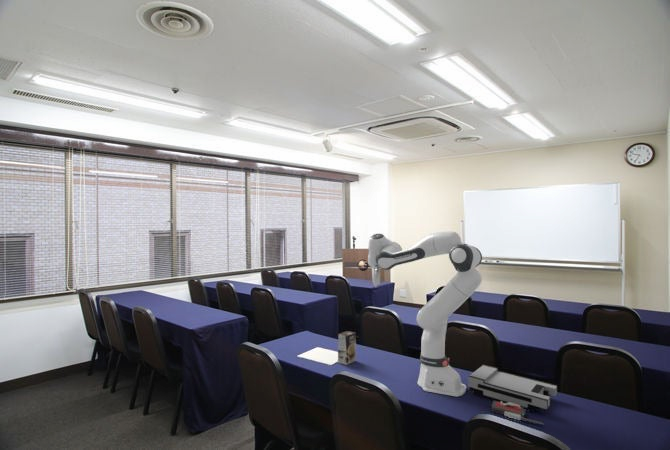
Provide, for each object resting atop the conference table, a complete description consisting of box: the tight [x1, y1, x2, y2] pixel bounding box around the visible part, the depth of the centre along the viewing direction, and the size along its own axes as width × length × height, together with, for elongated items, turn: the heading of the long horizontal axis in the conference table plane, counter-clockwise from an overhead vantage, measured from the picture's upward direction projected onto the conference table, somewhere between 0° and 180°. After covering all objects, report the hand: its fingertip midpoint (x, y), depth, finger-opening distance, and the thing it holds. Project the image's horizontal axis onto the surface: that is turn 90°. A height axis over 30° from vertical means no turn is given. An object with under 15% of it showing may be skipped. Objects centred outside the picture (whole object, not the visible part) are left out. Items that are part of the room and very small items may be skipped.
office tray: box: [467, 363, 558, 413], centre depth 167 cm, size 21×32×8 cm, turn 49°
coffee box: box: [337, 330, 357, 366], centre depth 208 cm, size 9×6×16 cm
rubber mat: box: [296, 346, 338, 366], centre depth 217 cm, size 24×20×1 cm
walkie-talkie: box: [488, 400, 544, 426], centre depth 150 cm, size 9×4×20 cm
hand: (375, 281), depth 211 cm, fingers open, 8 cm apart
